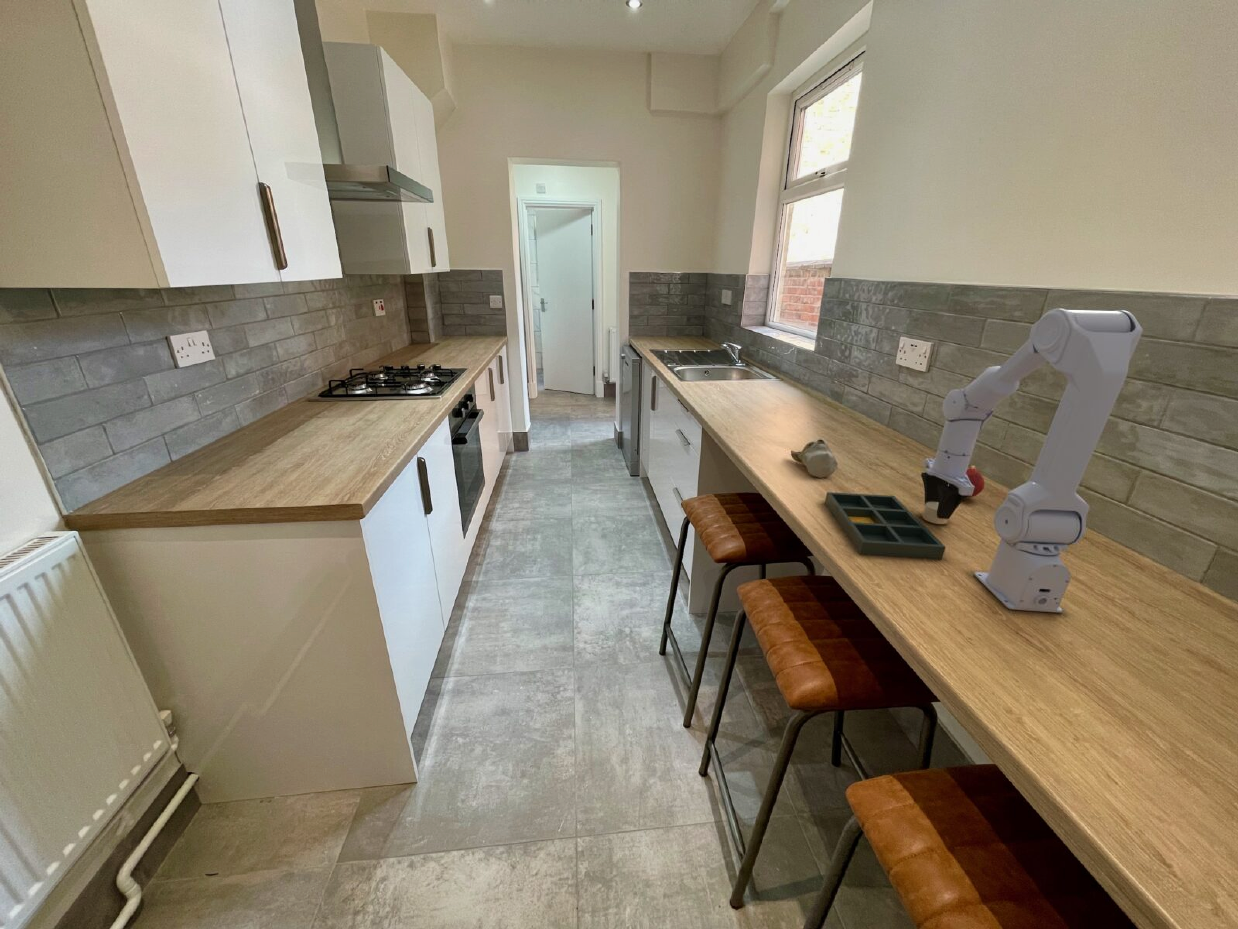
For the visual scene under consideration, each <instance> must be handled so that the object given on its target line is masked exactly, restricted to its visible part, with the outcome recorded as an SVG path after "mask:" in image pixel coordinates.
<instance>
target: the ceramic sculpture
mask: <svg viewBox="0 0 1238 929" xmlns="http://www.w3.org/2000/svg"><path fill="white" fill-rule="evenodd" d="M790 456H791V458H792V460H794V461H795V462H797V463H800V464H803V465H804V466H805V467H806V470H807V472H808V474H809V475H810V476H812V477H816V478H819V479H820V478H822V479H823V478H827V477H830V476H832V475H833V474H834V473H835V471H836V470H837V468H838V466H839V463H838V461H837V459H836V457H835V455H834V454H833V452H832V450H831V449H830V447H829V445H828V444H827V443H826V442H825V441H824V440H823V439H817V441H810V442H808V443H807V444H805V445H804V447H803V449H802V450H801V451H794V450H791V451H790Z"/></svg>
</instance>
